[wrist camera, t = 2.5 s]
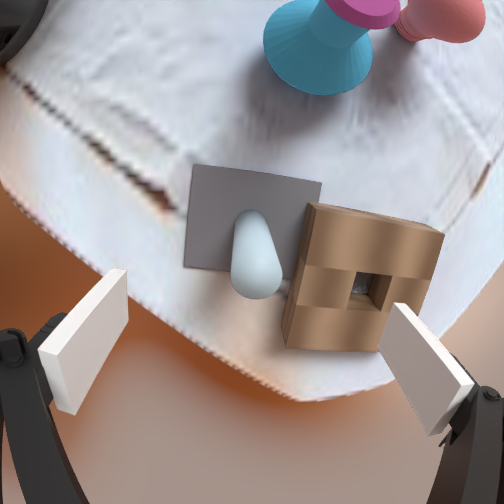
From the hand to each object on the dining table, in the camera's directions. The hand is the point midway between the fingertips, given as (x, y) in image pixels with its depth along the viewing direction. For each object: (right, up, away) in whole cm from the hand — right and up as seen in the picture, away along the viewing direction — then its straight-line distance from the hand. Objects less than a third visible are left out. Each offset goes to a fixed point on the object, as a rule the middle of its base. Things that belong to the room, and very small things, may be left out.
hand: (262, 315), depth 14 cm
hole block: (+11, 0, +18) cm, 21 cm away
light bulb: (+16, +26, +9) cm, 32 cm away
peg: (-1, +5, +15) cm, 16 cm away
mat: (-1, +6, +15) cm, 17 cm away
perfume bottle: (+5, +21, +10) cm, 24 cm away
